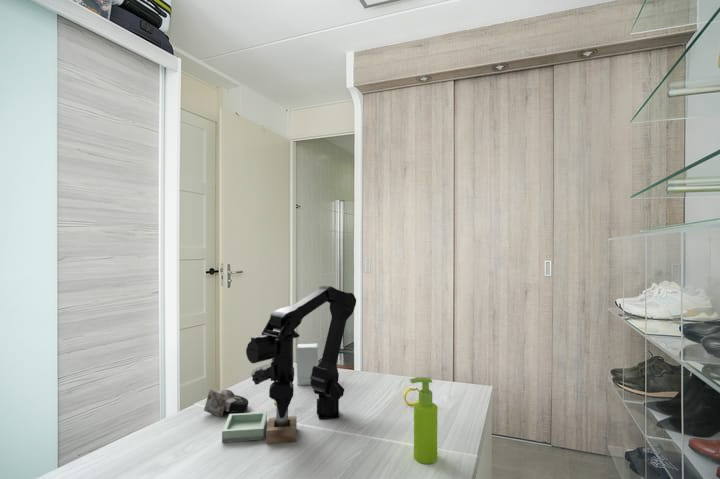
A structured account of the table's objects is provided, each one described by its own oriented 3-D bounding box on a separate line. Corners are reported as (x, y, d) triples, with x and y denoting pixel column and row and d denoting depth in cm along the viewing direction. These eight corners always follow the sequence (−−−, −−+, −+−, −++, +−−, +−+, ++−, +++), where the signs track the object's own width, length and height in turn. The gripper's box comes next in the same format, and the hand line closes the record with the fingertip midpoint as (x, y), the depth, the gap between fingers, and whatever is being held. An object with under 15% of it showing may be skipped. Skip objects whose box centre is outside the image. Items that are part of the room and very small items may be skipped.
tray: (266, 421, 118) (266, 411, 118) (263, 439, 107) (263, 428, 107) (229, 424, 116) (229, 414, 116) (221, 442, 105) (222, 431, 105)
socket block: (296, 428, 114) (296, 416, 114) (296, 441, 106) (296, 428, 106) (268, 430, 112) (268, 417, 112) (266, 443, 104) (266, 430, 105)
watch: (419, 403, 133) (420, 385, 133) (422, 406, 130) (423, 388, 131) (402, 402, 132) (403, 385, 133) (404, 406, 130) (406, 388, 130)
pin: (290, 431, 112) (290, 396, 112) (289, 439, 107) (290, 402, 107) (274, 432, 111) (274, 397, 111) (273, 440, 107) (273, 403, 107)
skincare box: (318, 380, 155) (319, 342, 155) (317, 385, 149) (317, 346, 149) (297, 380, 155) (298, 342, 155) (295, 385, 149) (296, 346, 149)
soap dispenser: (407, 452, 101) (407, 374, 101) (433, 451, 101) (433, 374, 102) (412, 464, 95) (412, 382, 95) (440, 463, 95) (440, 382, 96)
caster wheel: (249, 414, 129) (233, 423, 119) (220, 403, 132) (202, 411, 122) (254, 394, 129) (239, 401, 120) (226, 384, 132) (208, 389, 123)
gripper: (257, 347, 118) (256, 399, 117) (249, 366, 99) (248, 427, 99) (294, 346, 119) (294, 397, 119) (293, 364, 101) (293, 424, 101)
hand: (282, 410), depth 109 cm, fingers open, 9 cm apart
